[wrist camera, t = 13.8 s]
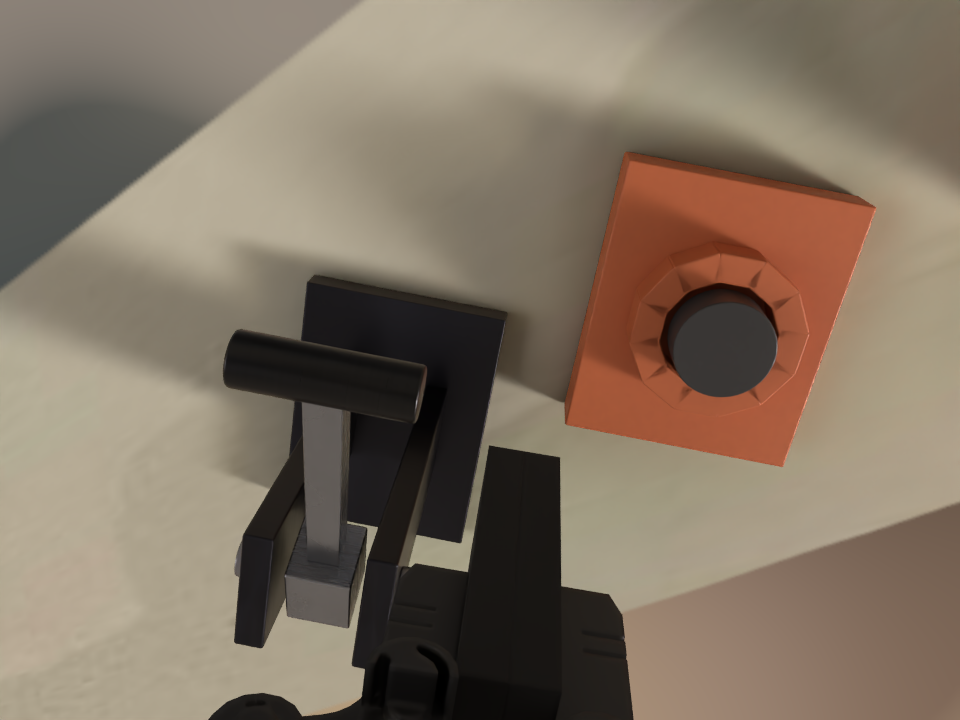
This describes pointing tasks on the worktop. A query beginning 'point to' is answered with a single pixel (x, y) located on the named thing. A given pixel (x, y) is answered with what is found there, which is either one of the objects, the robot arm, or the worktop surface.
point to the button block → (701, 267)
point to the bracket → (382, 449)
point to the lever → (325, 452)
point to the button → (722, 343)
